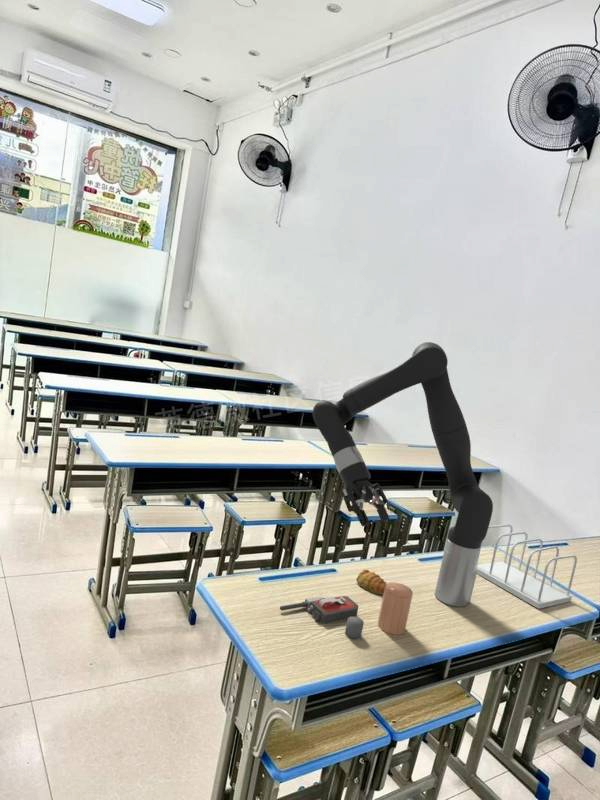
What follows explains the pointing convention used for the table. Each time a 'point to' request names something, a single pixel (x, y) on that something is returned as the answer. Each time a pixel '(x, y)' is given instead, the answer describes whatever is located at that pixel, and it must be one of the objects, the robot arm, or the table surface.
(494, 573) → the file sorter
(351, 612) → the walkie-talkie
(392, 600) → the cup
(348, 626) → the gray rounded pebble
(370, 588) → the pastry
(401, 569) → the table surface
